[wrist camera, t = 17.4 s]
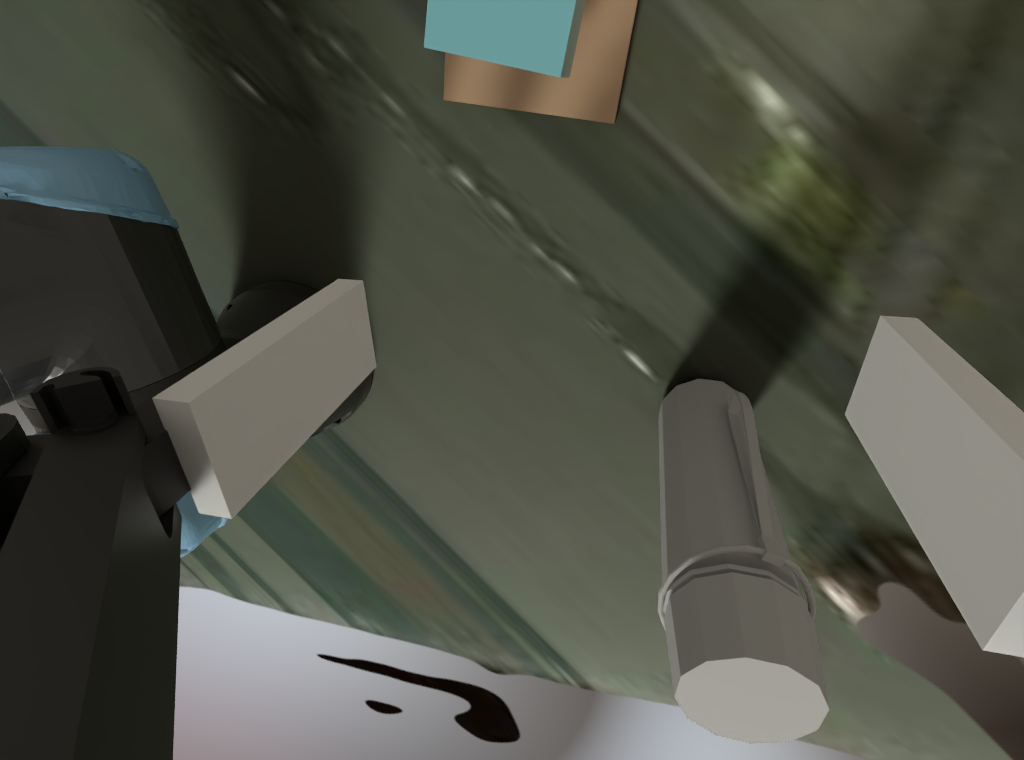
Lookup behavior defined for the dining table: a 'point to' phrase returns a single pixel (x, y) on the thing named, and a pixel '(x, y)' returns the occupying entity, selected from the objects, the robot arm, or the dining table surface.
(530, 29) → the teal block
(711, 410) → the water bottle
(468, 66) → the wooden peg stand
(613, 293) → the dining table surface
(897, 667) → the dining table surface
